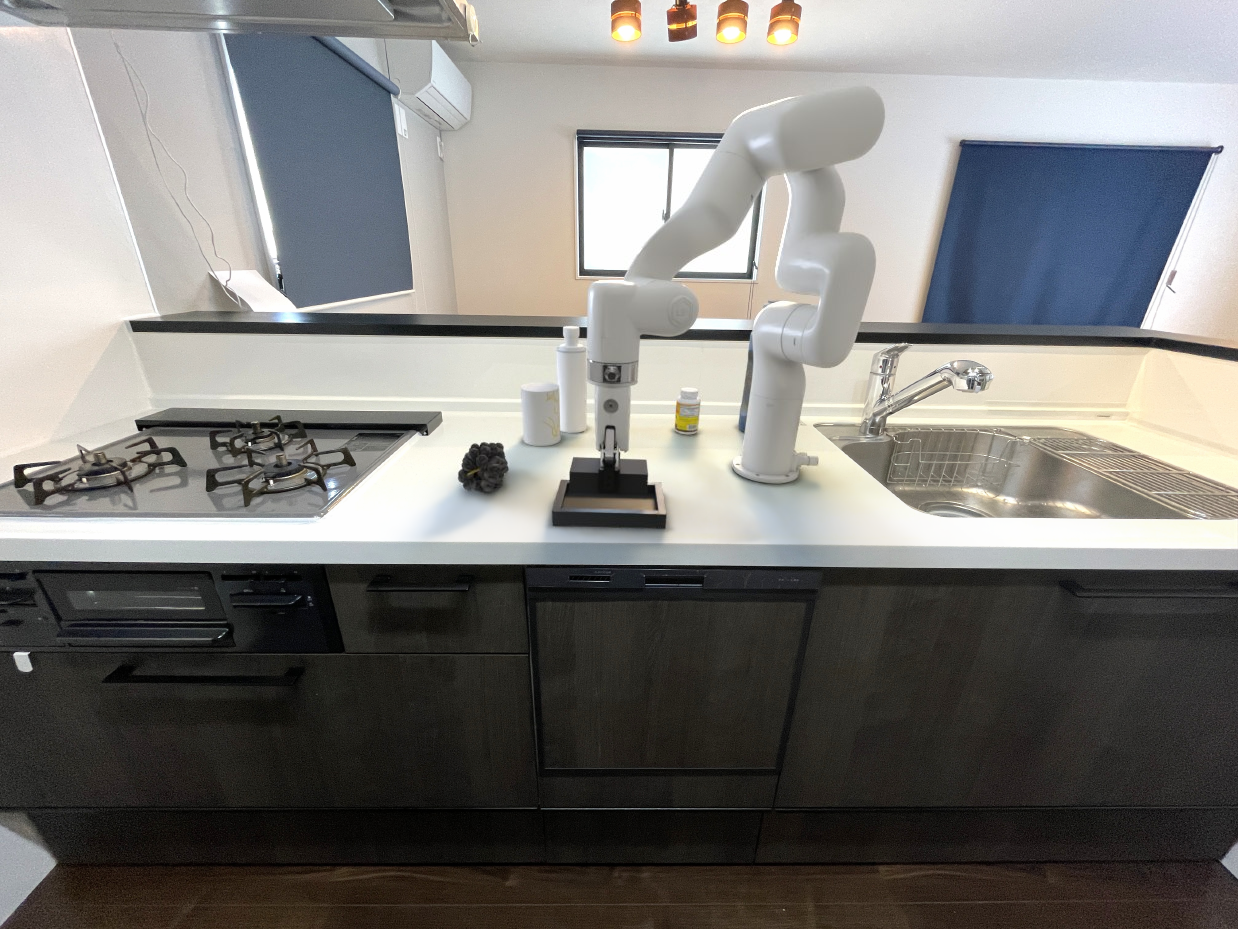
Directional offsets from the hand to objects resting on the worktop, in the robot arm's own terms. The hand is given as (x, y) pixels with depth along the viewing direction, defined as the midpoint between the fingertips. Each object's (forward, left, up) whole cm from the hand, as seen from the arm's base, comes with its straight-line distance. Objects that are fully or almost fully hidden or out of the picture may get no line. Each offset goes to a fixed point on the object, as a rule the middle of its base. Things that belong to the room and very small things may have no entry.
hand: (609, 482), depth 79 cm
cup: (+16, -32, -5) cm, 36 cm away
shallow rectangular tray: (0, 0, -5) cm, 5 cm away
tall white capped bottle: (+10, -40, -5) cm, 41 cm away
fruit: (+22, -10, -5) cm, 24 cm away
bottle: (-35, -43, -5) cm, 55 cm away
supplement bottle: (-17, -40, -5) cm, 43 cm away
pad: (0, 0, -1) cm, 1 cm away
